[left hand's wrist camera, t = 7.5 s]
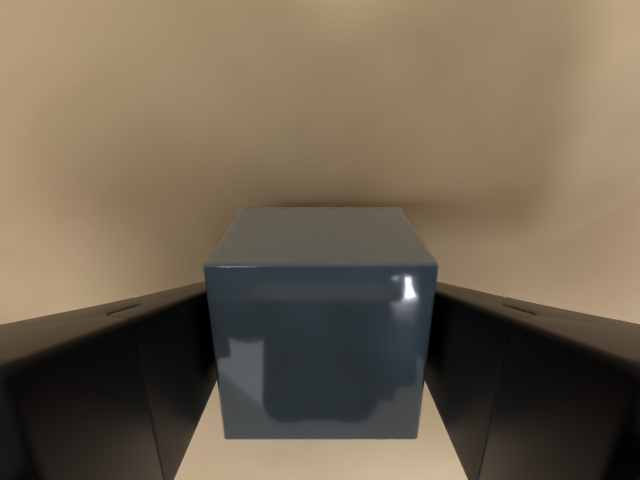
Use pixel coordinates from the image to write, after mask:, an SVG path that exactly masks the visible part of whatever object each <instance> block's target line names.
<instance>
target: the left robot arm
mask: <svg viewBox="0 0 640 480" xmlns="http://www.w3.org/2000/svg"><path fill="white" fill-rule="evenodd" d="M216 381H217V375H216V367H215V358H214V350H213V342H212V334H211V326H210V318H209V309H208V301H207V293H206V285H205V282H201V283H197V284H192V285H188V286H184V287H179V288H175V289H171V290H167V291H162V292H158V293H154V294H149V295H145V296H141V297H137V298H130V299H126V300H121V301H117V302H112V303H108V304H103V305H98V306H93V307H89V308H84V309H79V310H74V311H69V312H64V313H58V314H53V315H48V316H43V317H38V318H33V319H28V320H23V321H18V322H13V323H8V324H3V325H0V480H174V478H175V476H176V474H177V471H178V469H179V467H180V464H181V462H182V460H183V457H184V455H185V453H186V450H187V448H188V446H189V443H190V441H191V439H192V436H193V434H194V432H195V430H196V427H197V425H198V423H199V420H200V418H201V416H202V413H203V411H204V409H205V406H206V404H207V402H208V399H209V397H210V395H211V392H212V390H213V388H214V385H215V383H216ZM425 382H426V384H427V386H428V389H429V391H430V393H431V396H432V398H433V400H434V402H435V405H436V407H437V409H438V412H439V414H440V416H441V419H442V421H443V423H444V425H445V428H446V430H447V432H448V435H449V437H450V439H451V441H452V444H453V446H454V448H455V451H456V453H457V455H458V458H459V460H460V462H461V464H462V467H463V469H464V471H465V474H466V476H467V478H468V480H640V324H635V323H630V322H625V321H619V320H614V319H609V318H604V317H599V316H594V315H589V314H584V313H579V312H574V311H569V310H564V309H559V308H553V307H549V306H544V305H539V304H534V303H530V302H525V301H521V300H516V299H512V298H505V297H501V296H497V295H493V294H488V293H484V292H480V291H475V290H471V289H467V288H462V287H458V286H454V285H449V284H445V283H441V282H437V283H436V291H435V299H434V307H433V315H432V323H431V332H430V340H429V348H428V356H427V364H426V372H425Z"/></svg>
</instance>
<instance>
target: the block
mask: <svg viewBox="0 0 640 480" xmlns="http://www.w3.org/2000/svg"><path fill="white" fill-rule="evenodd" d="M203 269H204V277H205V285H206V293H207V301H208V309H209V318H210V326H211V334H212V342H213V350H214V358H215V367H216V375H217V383H218V391H219V399H220V407H221V416H222V424H223V432H224V438H225V439H417V437H418V429H419V421H420V413H421V405H422V397H423V389H424V381H425V372H426V364H427V356H428V348H429V340H430V332H431V323H432V315H433V307H434V299H435V291H436V283H437V275H438V263H437V262H436V260H435V259H434V257H433V256H432V254H431V253H430V251H429V250H428V248H427V247H426V245H425V244H424V242H423V241H422V239H421V238H420V236H419V235H418V233H417V232H416V230H415V229H414V227H413V226H412V224H411V223H410V221H409V220H408V218H407V217H406V215H405V214H404V212H403V211H402V209H401V208H400V207H241V208H240V210H239V211H238V213H237V214H236V216H235V217H234V219H233V220H232V222H231V223H230V225H229V227H228V228H227V230H226V231H225V233H224V234H223V236H222V237H221V239H220V240H219V242H218V243H217V245H216V246H215V248H214V249H213V251H212V252H211V254H210V255H209V257H208V258H207V260H206V261H205V263H204V265H203Z"/></svg>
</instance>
